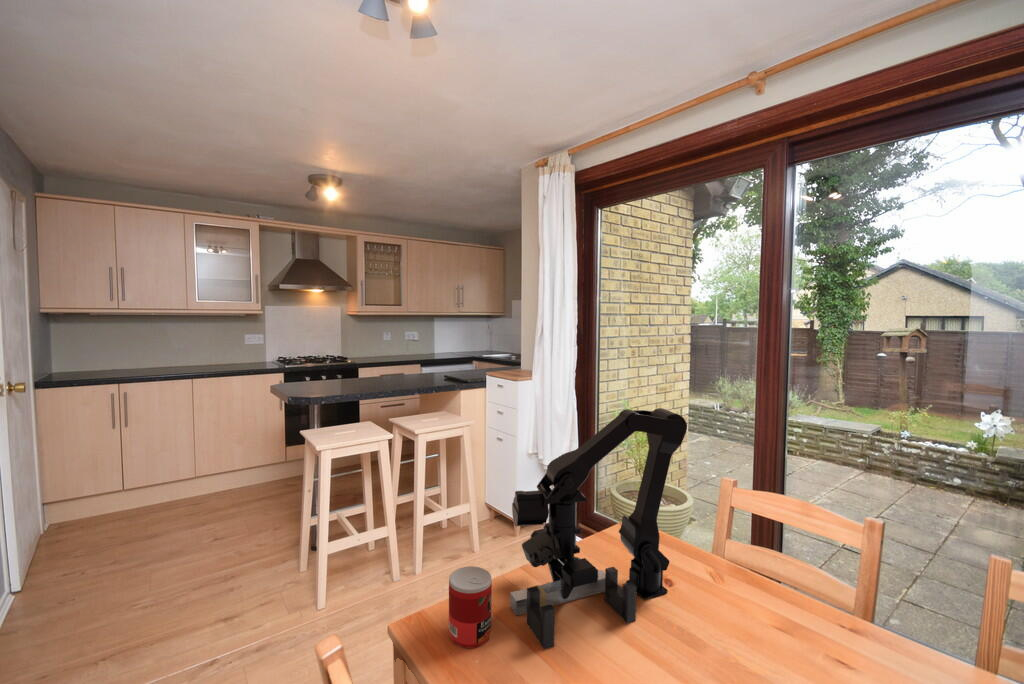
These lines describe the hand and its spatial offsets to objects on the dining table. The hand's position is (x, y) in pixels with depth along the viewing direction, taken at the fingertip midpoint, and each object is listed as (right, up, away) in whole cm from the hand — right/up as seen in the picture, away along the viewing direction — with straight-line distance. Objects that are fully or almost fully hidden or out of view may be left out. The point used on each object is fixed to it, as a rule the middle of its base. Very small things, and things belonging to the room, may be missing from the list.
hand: (561, 593), depth 95 cm
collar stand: (+3, -2, -7) cm, 8 cm away
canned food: (-18, -2, -11) cm, 21 cm away
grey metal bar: (0, -1, 0) cm, 1 cm away
